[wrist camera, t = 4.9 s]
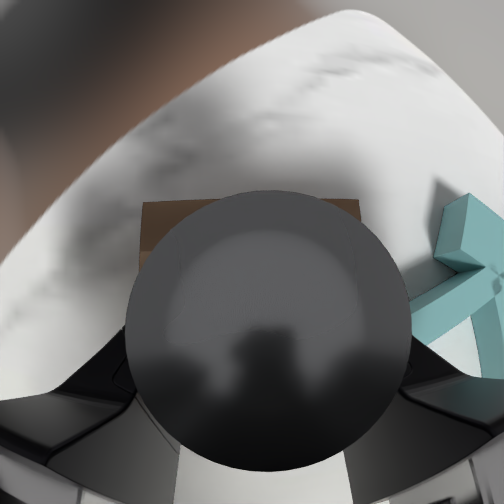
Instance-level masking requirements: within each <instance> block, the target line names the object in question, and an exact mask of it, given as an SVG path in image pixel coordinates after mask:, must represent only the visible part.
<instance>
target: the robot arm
mask: <svg viewBox="0 0 504 504" xmlns="http://www.w3.org/2000/svg"><path fill="white" fill-rule="evenodd" d="M125 325H126V324H125ZM125 325H124V326H123V327H122V329H121V330H119V331H118V333H117V334H116V335H115V336H114V337H113V338H112V339H111V340H110V341H109V342H108V343H107V344H106V345H105V346H104V347H103V348H102V349H101V350H100V351H98V352H97V353H96V354H95V355H94V356H93V357H92V358H91V359H90V360H89V361H87V362H86V363H85V364H84V365H83V366H82V367H81V368H79V369H78V370H77V371H76V372H75V373H74V374H73V375H71V376H70V377H69V378H68V379H67V380H66V381H65V382H64V383H62V384H61V385H60V386H59V387H57V388H55V389H54V390H52V391H50V392H47V393H44V394H40V395H34V396H28V397H22V398H16V399H9V400H1V401H0V504H173V501H174V492H175V484H176V476H177V468H178V461H179V453H180V446H181V443H179V442H178V441H177V440H176V439H175V438H173V437H172V436H171V435H170V434H169V433H168V432H167V431H166V430H165V429H164V428H163V427H162V426H161V425H160V424H159V423H158V422H157V421H156V419H155V418H154V417H153V415H152V414H151V412H150V411H149V410H148V408H147V407H146V405H145V404H144V402H143V400H142V398H141V396H140V394H139V392H138V390H137V388H136V386H135V383H134V380H133V377H132V374H131V371H130V368H129V363H128V358H127V353H126V341H125ZM343 452H344V457H345V462H346V467H347V472H348V477H349V482H350V488H351V493H352V499H353V504H376V503H380V502H383V501H387V500H389V504H504V379H492V378H479V377H473V376H470V375H467V374H465V373H463V372H461V371H460V370H458V369H457V368H455V367H454V366H453V365H451V364H450V363H449V362H447V361H446V360H445V359H443V358H442V357H441V356H439V355H438V354H437V353H435V352H434V351H432V350H431V349H430V348H428V347H427V346H426V345H425V344H423V343H422V342H421V341H419V340H418V339H417V338H416V337H414V336H413V335H412V339H411V348H410V355H409V359H408V363H407V367H406V371H405V373H404V376H403V379H402V382H401V384H400V387H399V389H398V390H397V392H396V394H395V396H394V398H393V400H392V402H391V403H390V405H389V406H388V408H387V409H386V411H385V412H384V413H383V415H382V416H381V417H380V419H379V420H378V421H377V422H376V423H375V424H374V425H373V426H372V427H371V429H370V430H369V431H367V432H366V433H365V434H364V435H363V436H362V437H361V438H359V439H358V440H357V441H356V442H355V443H353V444H352V445H350V446H349V447H347V448H346V449H344V450H343Z"/></svg>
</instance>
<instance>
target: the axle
mask: <svg viewBox="0 0 504 504" xmlns="http://www.w3.org/2000/svg"><path fill="white" fill-rule="evenodd" d="M411 339H412V318H411V310H410V304H409V298H408V295H407V291H406V288H405V284H404V281H403V279H402V277H401V274H400V272H399V270H398V268H397V265H396V264H395V262H394V260H393V259H392V257H391V256H390V254H389V252H388V251H387V249H386V248H385V247H384V245H383V244H382V243H381V242H380V240H379V239H378V238H377V237H376V236H375V235H374V234H373V233H372V232H371V231H370V230H369V229H368V228H367V227H366V226H365V225H364V224H363V223H361V222H360V221H359V220H357V219H356V218H355V217H353V216H352V215H351V214H349V213H348V212H346V211H344V210H342V209H341V208H339V207H337V206H335V205H333V204H331V203H329V202H326V201H323V200H321V199H318V198H316V197H312V196H308V195H304V194H300V193H296V192H287V191H277V190H274V191H254V192H247V193H241V194H237V195H233V196H230V197H226V198H223V199H220V200H218V201H215V202H213V203H211V204H208V205H206V206H204V207H202V208H200V209H199V210H197V211H195V212H194V213H192V214H190V215H189V216H187V217H186V218H184V219H183V220H182V221H181V222H179V223H178V224H177V225H176V226H175V227H173V228H172V229H171V230H170V231H169V232H168V233H167V234H166V235H165V236H164V237H163V238H162V239H161V240H160V241H159V243H158V244H157V245H156V246H155V248H154V249H153V251H152V252H151V253H150V255H149V256H148V258H147V259H146V261H145V263H144V264H143V266H142V268H141V270H140V272H139V274H138V276H137V278H136V281H135V284H134V286H133V289H132V292H131V295H130V299H129V304H128V308H127V313H126V325H125V341H126V353H127V358H128V363H129V368H130V371H131V374H132V377H133V380H134V383H135V386H136V388H137V390H138V392H139V394H140V396H141V398H142V400H143V402H144V404H145V405H146V407H147V408H148V410H149V411H150V412H151V414H152V415H153V417H154V418H155V419H156V421H157V422H158V423H159V424H160V425H161V426H162V427H163V428H164V429H165V430H166V431H167V432H168V433H169V434H170V435H171V436H172V437H173V438H175V439H176V440H177V441H178V442H179V443H181V444H182V445H183V446H185V447H186V448H188V449H190V450H191V451H193V452H194V453H196V454H198V455H200V456H202V457H204V458H206V459H208V460H211V461H213V462H215V463H218V464H221V465H225V466H228V467H231V468H236V469H242V470H248V471H260V472H274V471H286V470H292V469H297V468H301V467H306V466H309V465H312V464H315V463H318V462H320V461H323V460H325V459H327V458H329V457H331V456H333V455H335V454H337V453H339V452H341V451H343V450H344V449H346V448H347V447H349V446H350V445H352V444H353V443H355V442H356V441H357V440H358V439H359V438H361V437H362V436H363V435H364V434H365V433H366V432H367V431H369V430H370V429H371V427H372V426H373V425H374V424H375V423H376V422H377V421H378V420H379V419H380V417H381V416H382V415H383V413H384V412H385V411H386V409H387V408H388V406H389V405H390V403H391V402H392V400H393V398H394V396H395V394H396V392H397V390H398V389H399V387H400V384H401V382H402V379H403V376H404V373H405V371H406V367H407V363H408V359H409V355H410V348H411Z"/></svg>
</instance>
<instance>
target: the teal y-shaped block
mask: <svg viewBox="0 0 504 504" xmlns="http://www.w3.org/2000/svg"><path fill="white" fill-rule="evenodd" d="M433 258H435V259H437V260H438V261H440V262H442V263H443V264H445V265H447V266H448V267H450V268H452V269H453V270H455V271H457V272H458V274H456V275H454V276H453V277H451V278H449V279H448V280H446V281H444V282H443V283H441V284H439V285H438V286H436V287H434V288H433V289H431V290H429V291H427V292H426V293H424V294H422V295H420V296H418V297H417V298H415V299H413V300H411V301H409V304H410V310H411V318H412V335H413V336H414V337H416V338H417V339H418V340H419V341H421V342H422V343H423V344H425V345H428V344H429V343H431V342H432V341H434V340H436V339H437V338H439V337H440V336H442V335H443V334H445V333H446V332H448V331H449V330H451V329H452V328H453V327H455V326H456V325H458V324H459V323H461V322H462V321H463V320H465V319H466V318H467V317H469V316H470V315H471V319H472V323H473V328H474V332H475V337H476V342H477V347H478V353H479V359H480V365H481V371H482V378H492V379H504V220H503V219H502V218H501V217H500V216H498V215H497V214H496V213H495V212H493V211H492V210H491V209H490V208H489V207H487V206H486V205H485V204H483V203H482V202H481V201H480V200H478V199H477V198H476V197H474V196H473V195H472V194H470V193H468V194H466V195H464V196H462V197H460V198H459V199H457V200H455V201H453V202H452V203H450V204H448V205H446V206H444V211H443V216H442V222H441V226H440V231H439V236H438V240H437V244H436V249H435V253H434V257H433Z"/></svg>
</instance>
